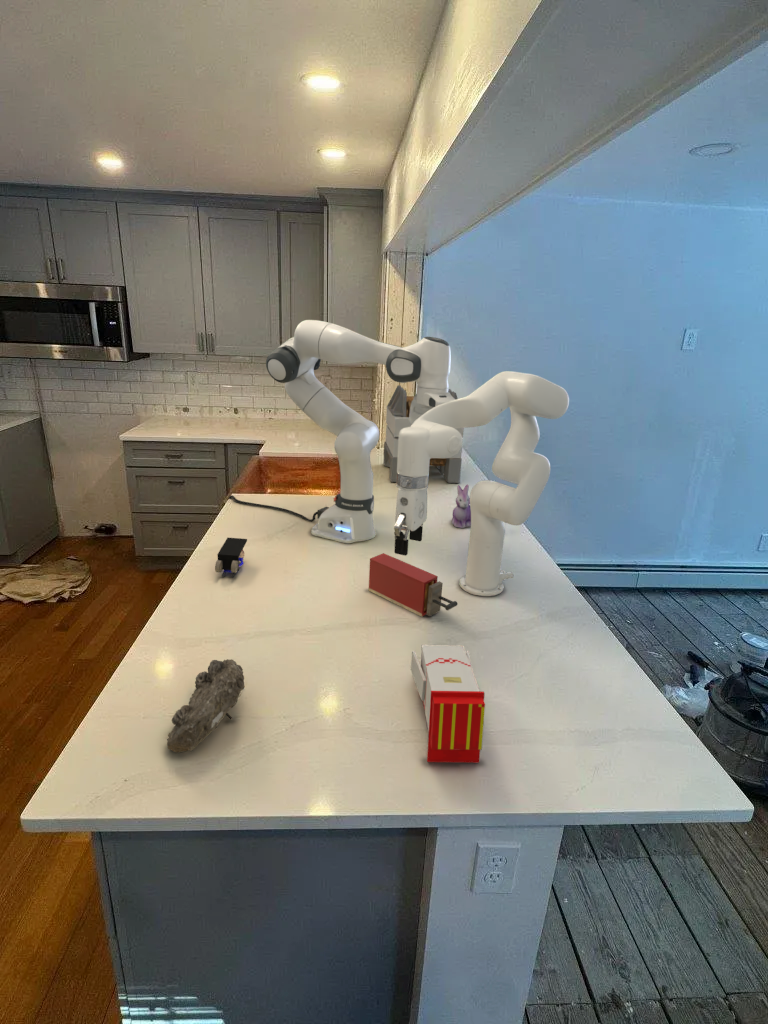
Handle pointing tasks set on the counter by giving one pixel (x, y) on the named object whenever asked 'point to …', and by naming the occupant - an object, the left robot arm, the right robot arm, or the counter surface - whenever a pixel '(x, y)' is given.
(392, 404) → the transformer
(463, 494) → the figurine
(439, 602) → the drawer
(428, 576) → the cabinet
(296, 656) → the counter surface
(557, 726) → the counter surface
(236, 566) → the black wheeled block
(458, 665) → the toy
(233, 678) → the fossil
